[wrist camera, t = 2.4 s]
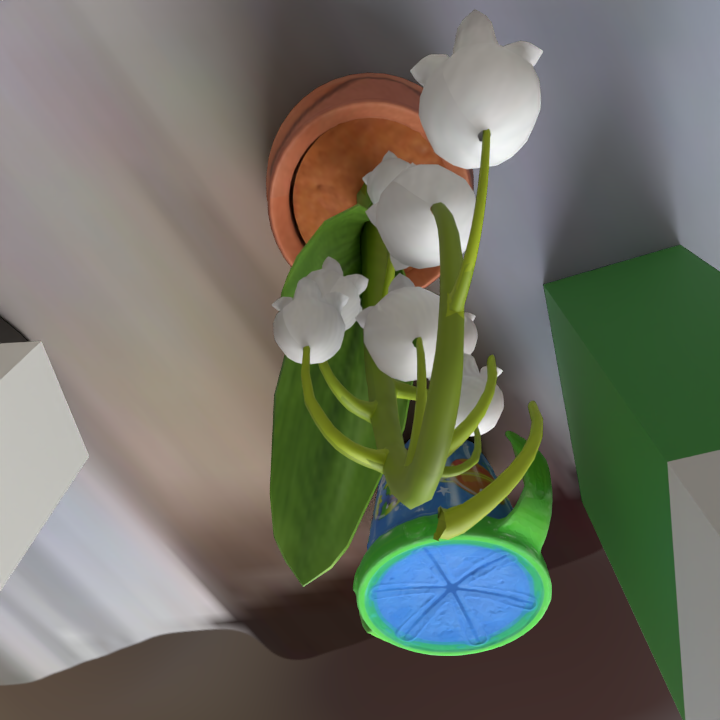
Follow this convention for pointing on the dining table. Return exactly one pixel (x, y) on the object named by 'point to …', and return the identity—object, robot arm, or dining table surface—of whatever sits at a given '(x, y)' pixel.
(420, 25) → the dining table surface
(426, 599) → the snack cup
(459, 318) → the potted flower
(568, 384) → the hardback book
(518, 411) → the dining table surface
